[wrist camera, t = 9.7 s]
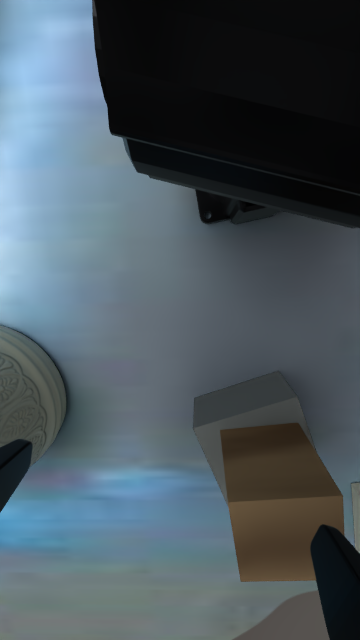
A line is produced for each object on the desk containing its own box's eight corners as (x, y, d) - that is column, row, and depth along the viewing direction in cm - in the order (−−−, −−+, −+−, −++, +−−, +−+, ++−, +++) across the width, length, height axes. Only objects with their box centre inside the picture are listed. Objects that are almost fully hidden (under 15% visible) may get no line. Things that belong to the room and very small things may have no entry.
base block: (194, 396, 20) (192, 428, 16) (277, 369, 19) (297, 396, 15) (223, 463, 21) (229, 508, 17) (303, 442, 20) (328, 484, 16)
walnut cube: (219, 429, 16) (227, 502, 11) (298, 422, 15) (342, 495, 11) (229, 491, 17) (240, 581, 12) (303, 486, 16) (346, 579, 12)
